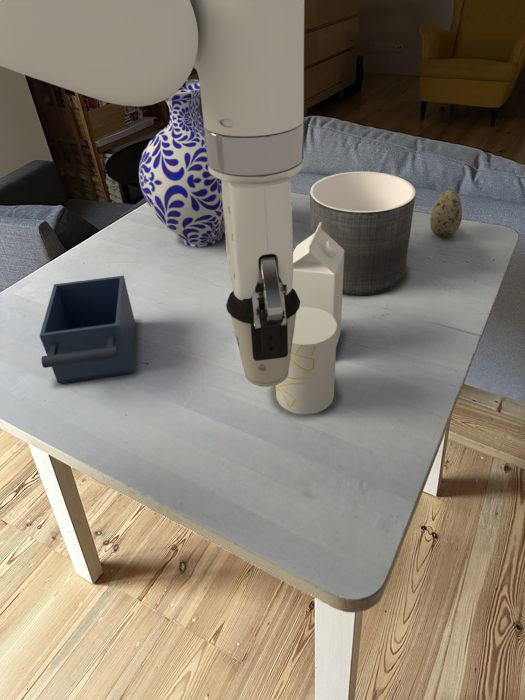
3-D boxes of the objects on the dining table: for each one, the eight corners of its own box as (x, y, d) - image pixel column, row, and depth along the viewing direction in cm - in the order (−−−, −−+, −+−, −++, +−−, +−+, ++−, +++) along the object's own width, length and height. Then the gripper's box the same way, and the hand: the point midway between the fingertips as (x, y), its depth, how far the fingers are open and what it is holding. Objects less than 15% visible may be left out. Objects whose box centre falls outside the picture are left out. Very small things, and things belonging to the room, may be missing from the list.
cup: (264, 392, 76) (259, 324, 69) (305, 367, 80) (305, 300, 73) (303, 423, 71) (303, 353, 64) (346, 394, 75) (350, 325, 68)
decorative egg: (431, 228, 113) (438, 182, 107) (460, 232, 111) (469, 185, 105) (424, 240, 109) (431, 193, 103) (455, 245, 107) (463, 197, 101)
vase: (132, 238, 117) (99, 90, 98) (210, 207, 128) (193, 68, 109) (190, 272, 104) (165, 109, 85) (271, 235, 115) (264, 82, 96)
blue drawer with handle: (131, 392, 78) (117, 343, 72) (53, 403, 77) (33, 354, 71) (134, 320, 92) (123, 275, 86) (69, 329, 91) (53, 284, 85)
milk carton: (286, 354, 83) (283, 242, 71) (298, 327, 88) (296, 219, 76) (332, 360, 81) (336, 247, 69) (340, 333, 86) (346, 223, 74)
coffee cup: (312, 364, 56) (314, 282, 50) (276, 404, 52) (273, 319, 45) (258, 343, 59) (253, 263, 53) (219, 379, 55) (209, 296, 49)
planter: (315, 299, 94) (316, 215, 85) (305, 251, 108) (305, 174, 99) (415, 292, 94) (428, 208, 85) (393, 245, 108) (401, 168, 98)
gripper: (200, 120, 48) (218, 290, 59) (214, 195, 34) (235, 398, 45) (283, 113, 48) (286, 283, 59) (329, 184, 35) (322, 386, 46)
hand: (264, 331), depth 52 cm, fingers closed on coffee cup, 7 cm apart
